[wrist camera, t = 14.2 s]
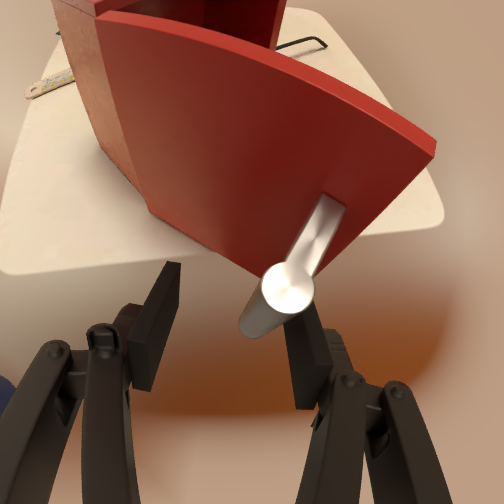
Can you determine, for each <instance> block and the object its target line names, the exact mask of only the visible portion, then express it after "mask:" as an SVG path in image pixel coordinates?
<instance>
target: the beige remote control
mask: <svg viewBox="0 0 504 504" xmlns="http://www.w3.org/2000/svg"><path fill="white" fill-rule="evenodd" d="M72 81H75V79H74V76H73V73H72V70H71V68H69V69H66V70H64V71H61V72H59V73H57V74H54V75H52V76H49V77H47V78H45V79H43V80H40V81H38V82H36V83H35V84H33V85H31V86H30V87H29V88H28V89H27V90H26V91H25V94H24V96H25V98H26V99H32V98H34V97H37V96H39V95H41V94H43V93H45V92H48V91H50V90H52V89H55V88H57V87H59V86H62V85H64V84H67V83H69V82H72ZM34 89H36V90H35V91H33V90H34ZM32 91H33V92H32Z"/></svg>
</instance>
